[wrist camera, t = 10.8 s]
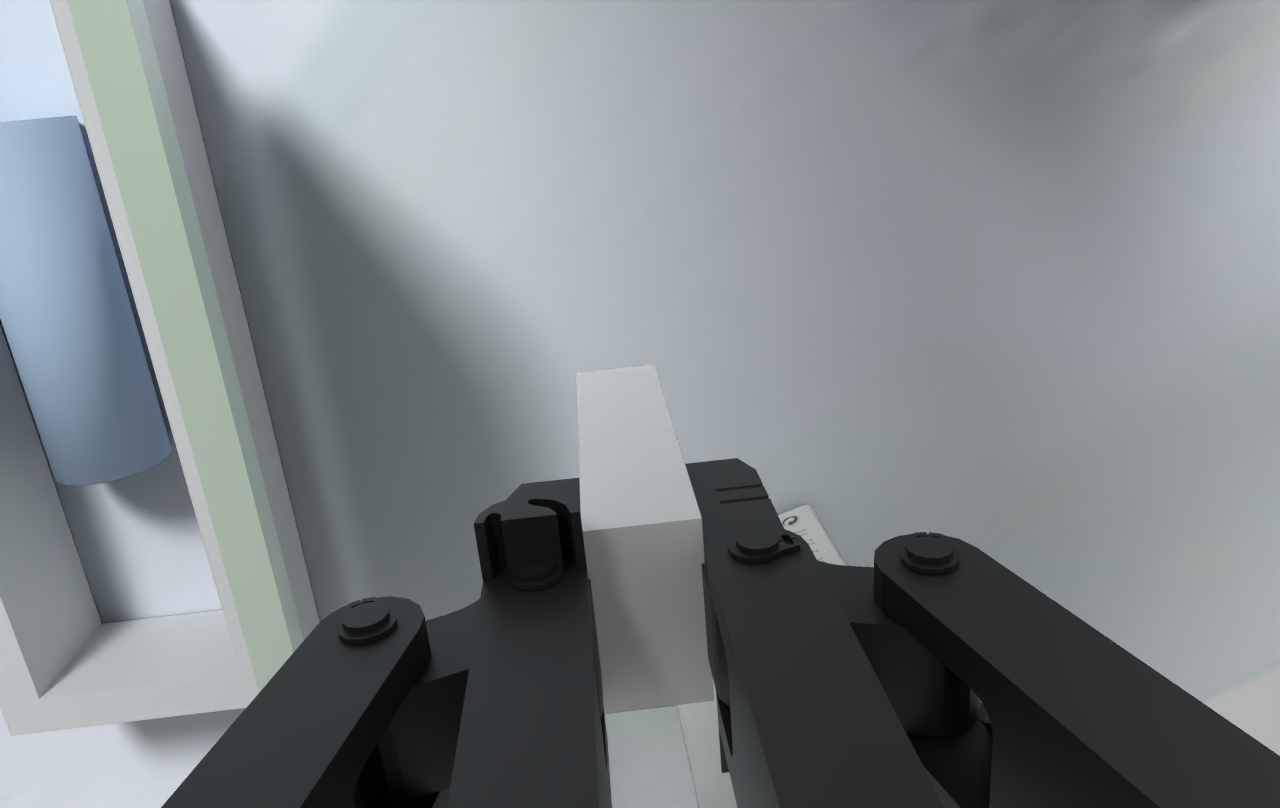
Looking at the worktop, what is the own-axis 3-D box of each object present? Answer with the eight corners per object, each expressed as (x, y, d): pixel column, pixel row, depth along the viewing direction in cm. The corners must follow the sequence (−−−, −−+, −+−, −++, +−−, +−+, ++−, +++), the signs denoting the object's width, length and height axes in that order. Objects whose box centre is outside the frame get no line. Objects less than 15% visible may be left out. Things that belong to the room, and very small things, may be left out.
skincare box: (643, 557, 32) (710, 964, 18) (821, 491, 32) (1039, 849, 17) (720, 735, 35) (832, 1209, 21) (884, 676, 35) (1116, 1116, 20)
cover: (26, -148, 13) (87, -149, 14) (88, -60, 21) (127, -61, 21) (311, 882, 20) (348, 868, 21) (282, 673, 28) (309, 664, 28)
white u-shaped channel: (-162, -13, 24) (-294, -27, 21) (160, -39, 25) (88, -58, 21) (76, 656, 32) (11, 735, 28) (321, 628, 32) (289, 702, 28)
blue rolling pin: (1, 122, 26) (-96, 131, 23) (102, 113, 26) (17, 121, 23) (101, 443, 30) (29, 486, 27) (192, 440, 29) (128, 484, 26)
